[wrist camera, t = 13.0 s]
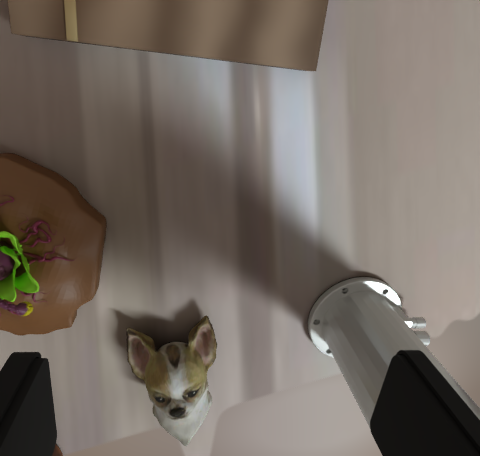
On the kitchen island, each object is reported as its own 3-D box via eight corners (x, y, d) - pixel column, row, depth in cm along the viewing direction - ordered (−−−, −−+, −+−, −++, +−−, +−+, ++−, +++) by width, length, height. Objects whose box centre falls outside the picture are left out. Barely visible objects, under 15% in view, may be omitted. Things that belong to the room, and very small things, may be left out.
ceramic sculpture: (139, 468, 42) (111, 364, 37) (146, 407, 50) (124, 315, 45) (231, 449, 43) (217, 346, 38) (223, 393, 51) (211, 302, 46)
